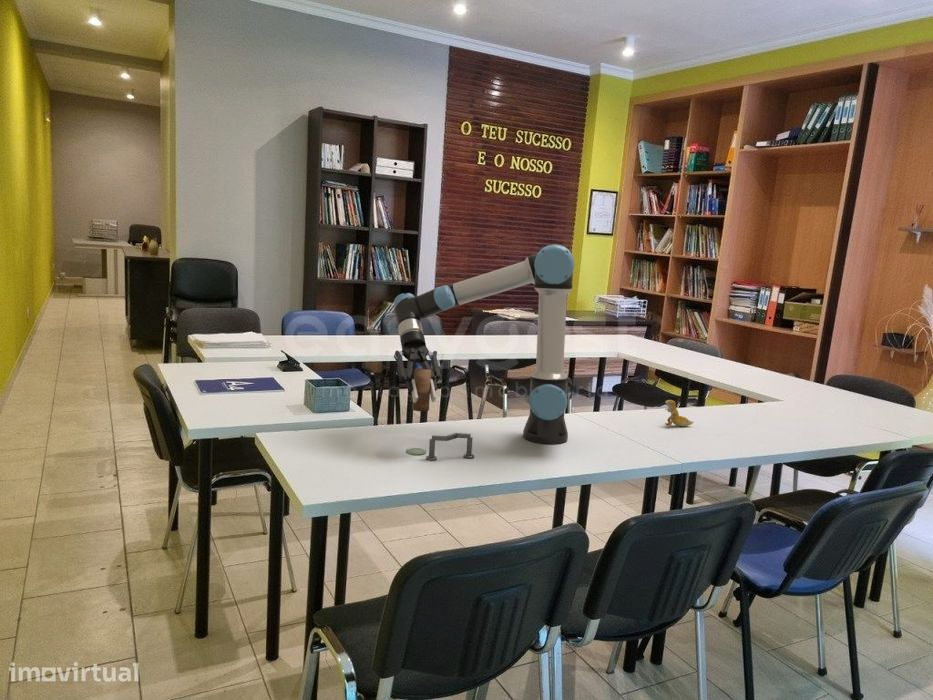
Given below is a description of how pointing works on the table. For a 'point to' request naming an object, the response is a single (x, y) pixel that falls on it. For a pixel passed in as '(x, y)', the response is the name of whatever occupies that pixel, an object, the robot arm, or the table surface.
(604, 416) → the table surface
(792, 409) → the table surface
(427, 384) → the dowel
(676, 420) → the toy
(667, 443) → the table surface
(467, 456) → the grey bent handle
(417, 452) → the pad
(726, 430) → the table surface
